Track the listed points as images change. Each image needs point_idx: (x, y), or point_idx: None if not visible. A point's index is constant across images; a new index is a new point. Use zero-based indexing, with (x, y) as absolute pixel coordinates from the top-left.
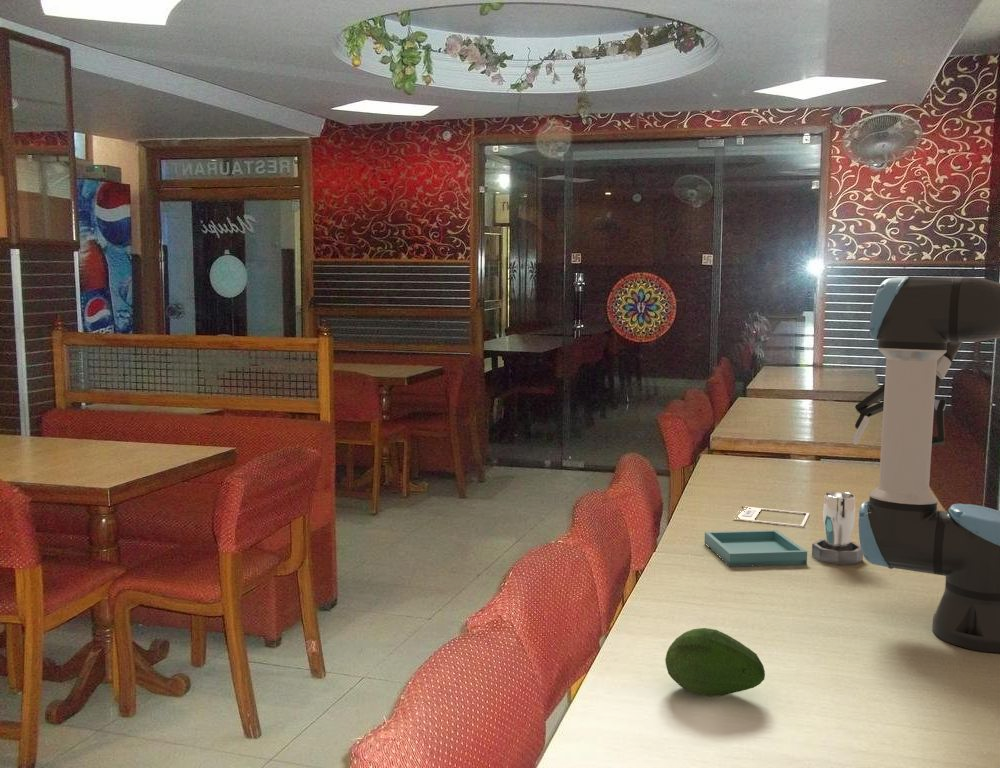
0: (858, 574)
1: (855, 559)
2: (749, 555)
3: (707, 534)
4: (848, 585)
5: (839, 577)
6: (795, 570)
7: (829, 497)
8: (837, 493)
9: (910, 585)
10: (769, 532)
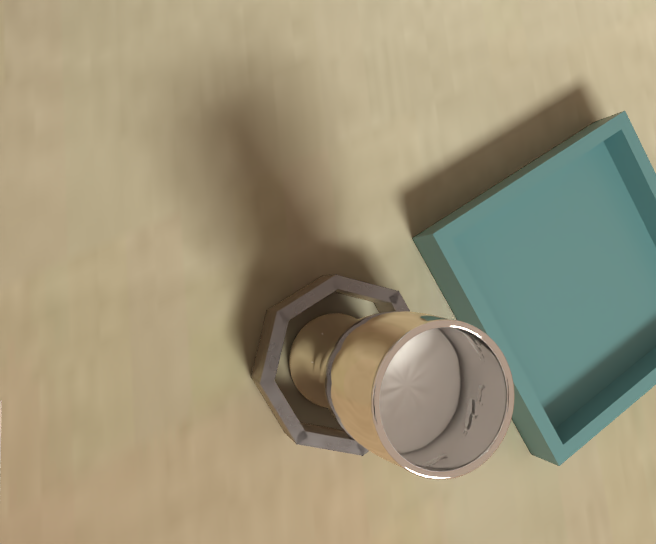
0: (249, 196)
1: (273, 309)
2: (575, 140)
3: None
4: (269, 62)
5: (303, 138)
6: (433, 160)
7: (483, 334)
8: (458, 467)
9: (68, 136)
10: (572, 434)
